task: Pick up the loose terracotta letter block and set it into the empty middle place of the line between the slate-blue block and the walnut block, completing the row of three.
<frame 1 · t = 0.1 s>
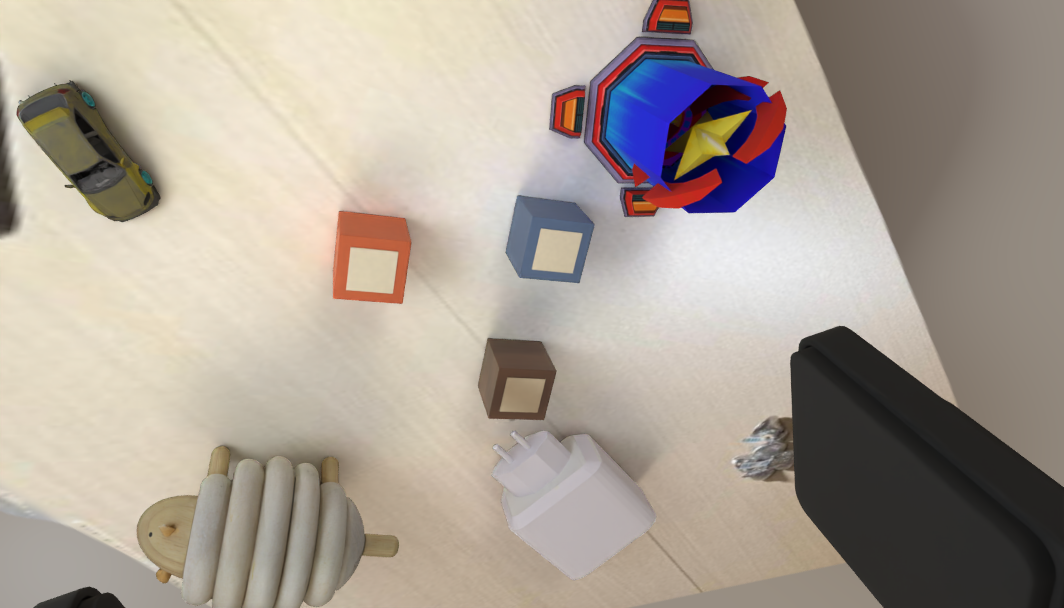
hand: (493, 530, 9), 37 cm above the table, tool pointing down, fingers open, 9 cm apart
fantasy tower: (653, 113, 47), on the table
race car: (96, 153, 39), on the table
slate block: (540, 227, 48), on the table
toy sheep: (278, 480, 52), on the table
terracotta block: (369, 244, 46), on the table
charger: (549, 468, 59), on the table
walnut block: (509, 363, 53), on the table
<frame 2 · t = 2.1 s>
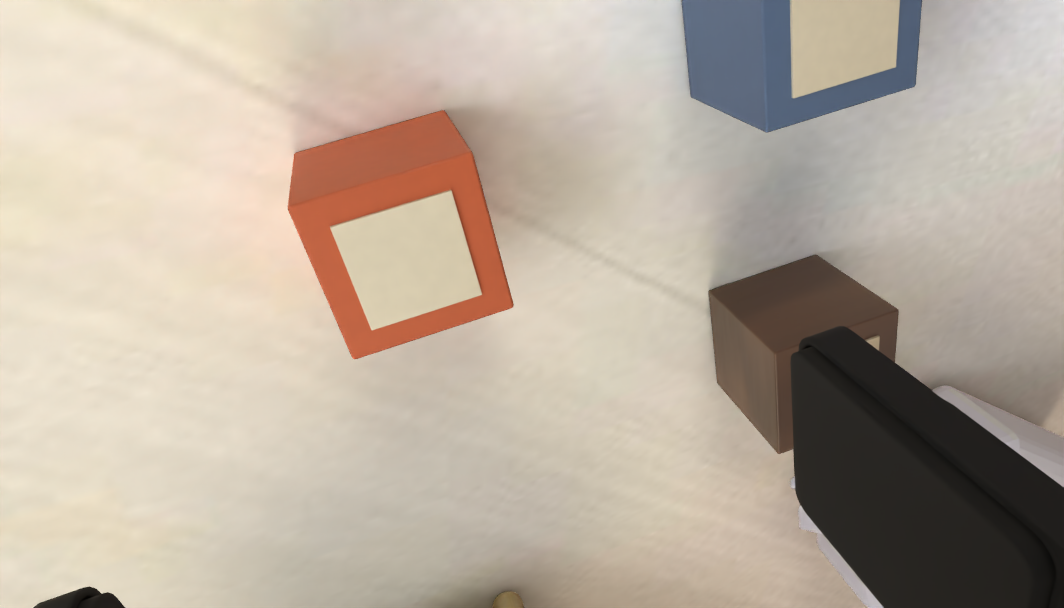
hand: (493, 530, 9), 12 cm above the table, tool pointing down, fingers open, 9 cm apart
slate block: (750, 5, 20), on the table
terracotta block: (394, 201, 20), on the table
charger: (884, 461, 32), on the table
walnut block: (764, 320, 26), on the table
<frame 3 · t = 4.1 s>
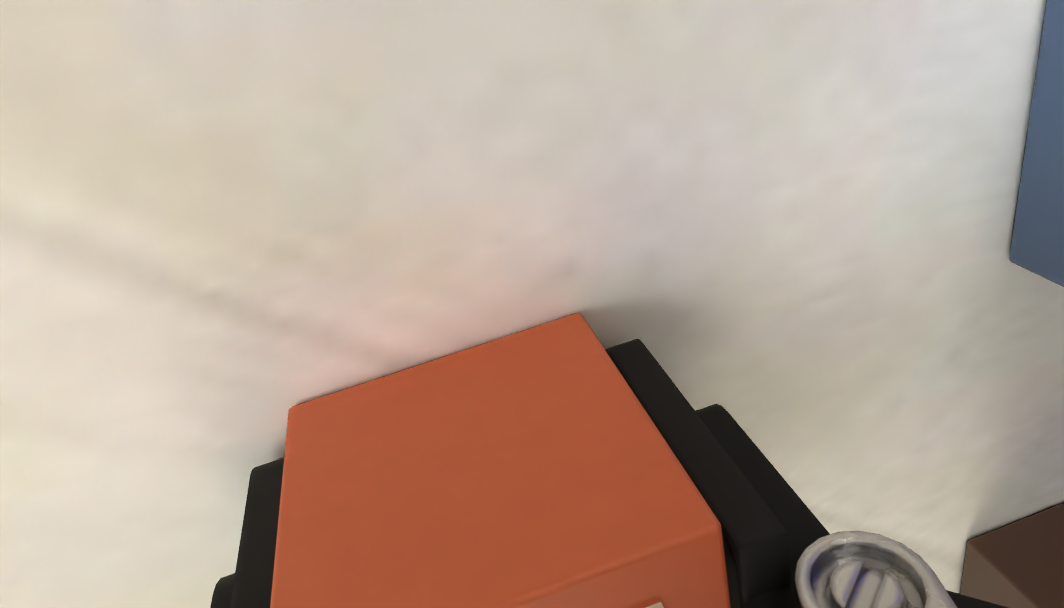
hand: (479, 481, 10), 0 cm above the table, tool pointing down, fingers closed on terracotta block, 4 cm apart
terracotta block: (476, 467, 11), on the table, touching gripper
walnut block: (1037, 569, 16), on the table
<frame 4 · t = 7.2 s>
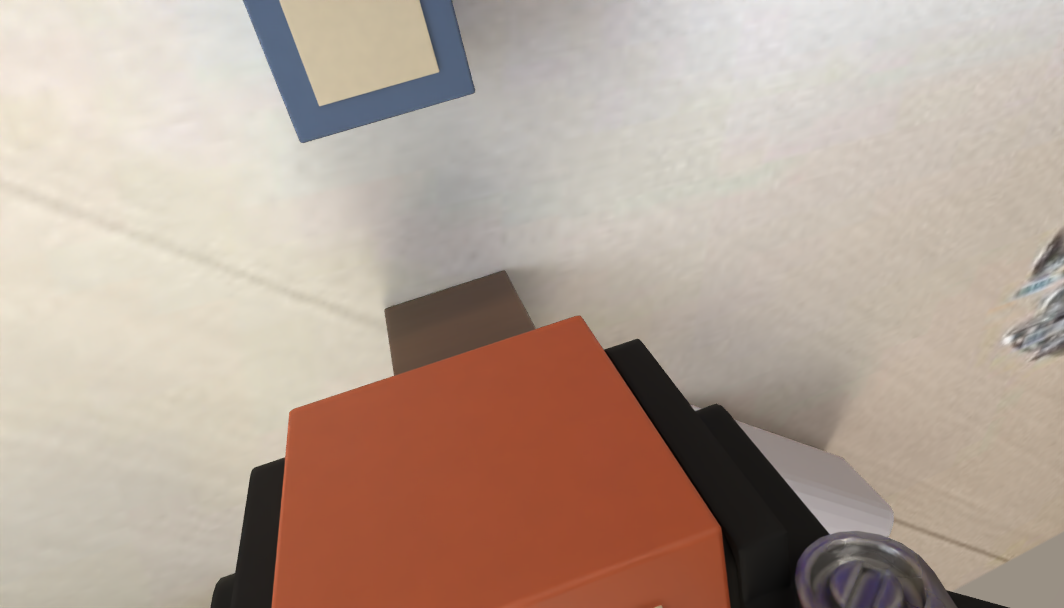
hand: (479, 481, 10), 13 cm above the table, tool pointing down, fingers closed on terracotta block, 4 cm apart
slate block: (352, 7, 19), on the table
terracotta block: (476, 469, 11), point 13 cm above the table, touching gripper
charger: (649, 484, 30), on the table
walnut block: (461, 340, 24), on the table
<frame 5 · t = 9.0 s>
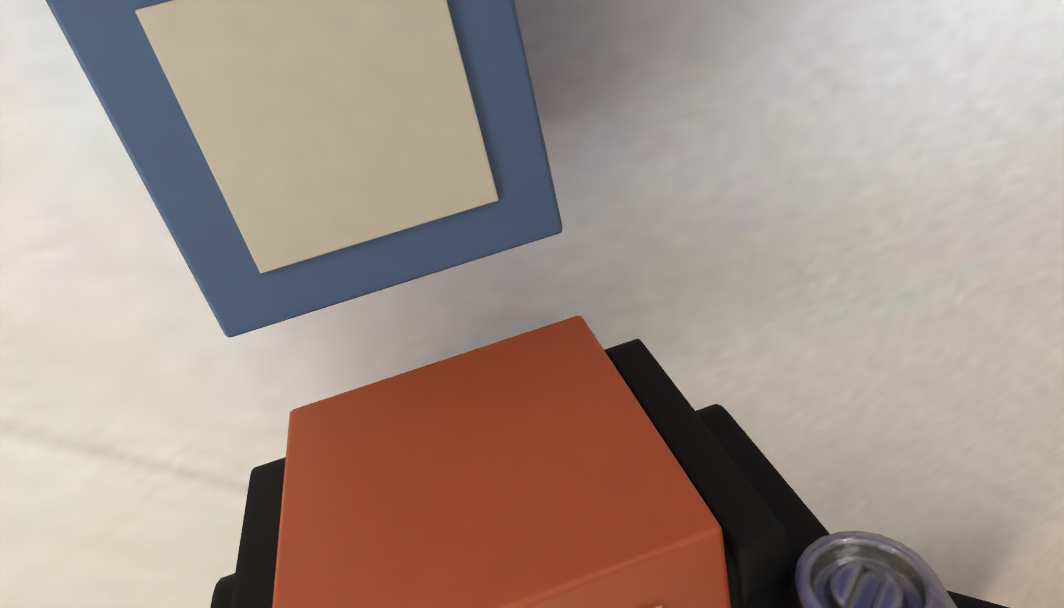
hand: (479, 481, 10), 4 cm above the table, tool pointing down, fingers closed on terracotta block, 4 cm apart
slate block: (334, 55, 11), on the table
terracotta block: (476, 469, 11), point 4 cm above the table, touching gripper
when the fingers open (0 cm above the table, at t = 10.3 s): terracotta block stays where it is, on the table.
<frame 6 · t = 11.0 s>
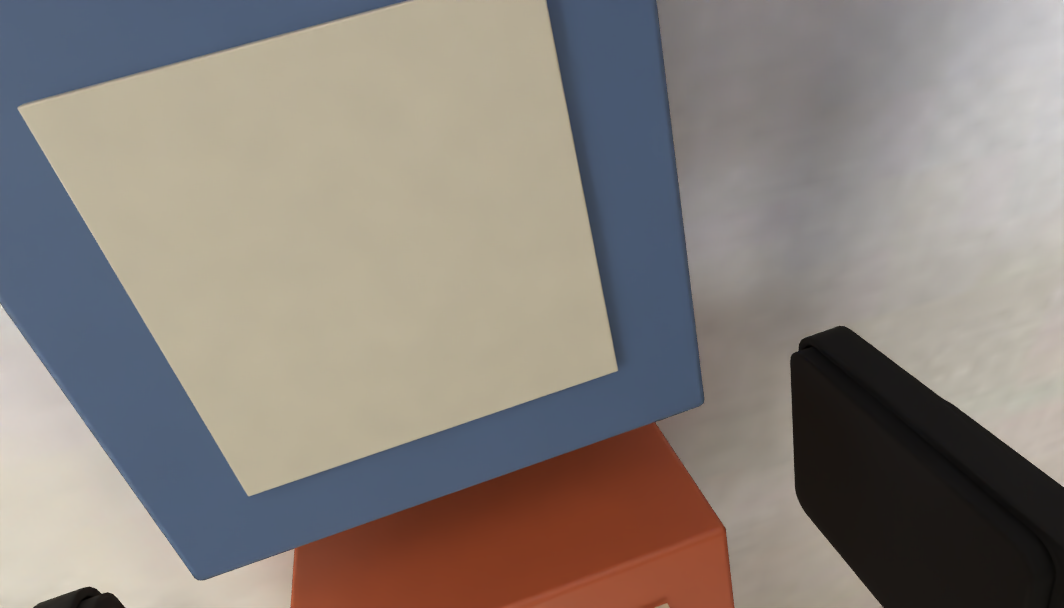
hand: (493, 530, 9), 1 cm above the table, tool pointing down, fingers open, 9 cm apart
slate block: (357, 117, 8), on the table
terracotta block: (484, 470, 11), on the table
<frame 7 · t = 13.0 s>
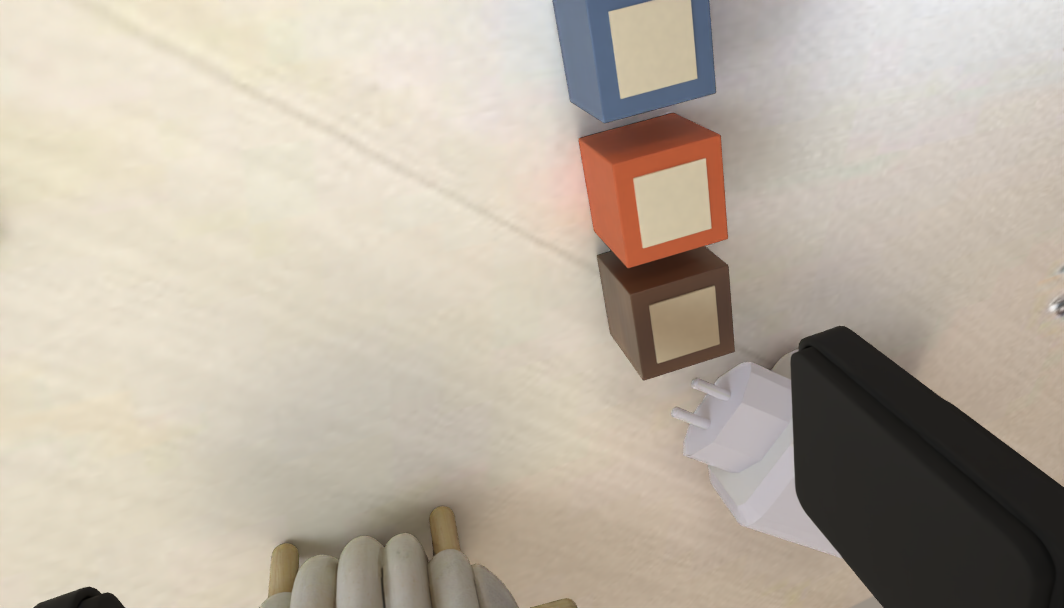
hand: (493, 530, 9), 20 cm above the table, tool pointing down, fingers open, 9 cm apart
slate block: (612, 34, 27), on the table
toy sheep: (383, 559, 36), on the table
terracotta block: (632, 173, 30), on the table
charger: (767, 412, 38), on the table
walnut block: (646, 283, 32), on the table
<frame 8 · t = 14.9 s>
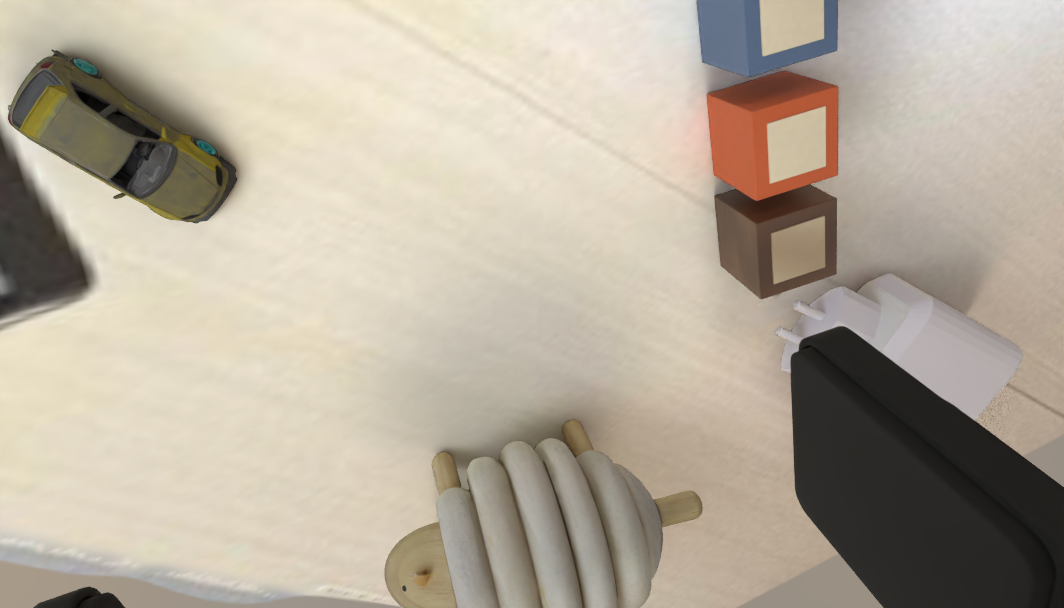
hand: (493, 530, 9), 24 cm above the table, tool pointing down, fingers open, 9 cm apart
race car: (134, 142, 28), on the table
slate block: (739, 3, 32), on the table
toy sheep: (518, 468, 41), on the table
terracotta block: (748, 123, 35), on the table
charger: (846, 336, 43), on the table
walnut block: (753, 220, 37), on the table
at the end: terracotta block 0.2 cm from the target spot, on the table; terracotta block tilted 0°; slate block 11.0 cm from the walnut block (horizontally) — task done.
